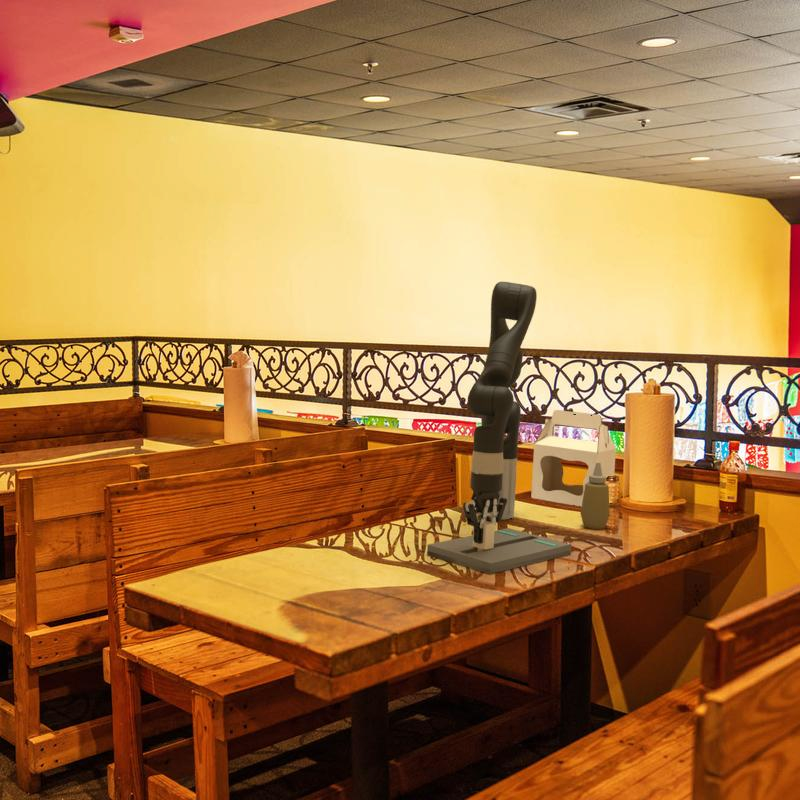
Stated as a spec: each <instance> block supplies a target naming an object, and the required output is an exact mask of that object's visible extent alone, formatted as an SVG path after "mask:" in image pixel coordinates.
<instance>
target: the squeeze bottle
mask: <svg viewBox="0 0 800 800" xmlns="http://www.w3.org/2000/svg"><path fill="white" fill-rule="evenodd" d="M605 483H606V476H602V470H601V463H596V466H595V469H594V473H593V475H589V482H588V483H586V484H585V489H584V495H583V501H582V507H580V508H581V509H580V517H581V521H582V525H583V527H585V528H588V529H592V530H602V529H605V528H606V526H607V524H608V522H609V519H610V516H611V515H610V510H611V509H610V504H609V486H608V485H607V484H605Z"/></svg>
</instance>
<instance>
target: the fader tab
mask: <svg viewBox="0 0 800 800" xmlns="http://www.w3.org/2000/svg"><path fill="white" fill-rule="evenodd" d="M478 522H479V520H478ZM495 529H496V525H495V523H493V522H489V521H485V519H484V525H483V543H481V544H478V543H475V542H474V539H473V546H474V547H477V548H478V551H482V550H486V549H491V548H494V531H496V530H495ZM472 531H473V533H472V535H473V537H474V527H473V530H472Z"/></svg>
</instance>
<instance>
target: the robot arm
mask: <svg viewBox="0 0 800 800" xmlns="http://www.w3.org/2000/svg"><path fill="white" fill-rule="evenodd" d="M537 296H538V295H537V290H536V288H535V287H534V286H532V285H528V284H522V283H516V282H511V281H510V282H509V281H499V282H496V284H495V285H494V287H493V289H492V294H491V300H490V337H489V345H488V352H487V355H486V358H485V363H484V367H483V370H482V371H481V373H480V375H479V376H478V378H477V379H476V381H475V382H474V383H473V385H472V386H471V389H470V390H469V393H468V396H467V400H466V401H467V407H468V410H469V411H470V412H471V413H472V414H474V415H478V416H481V425H477V426H476V427H475V428H474V431H473V445H472V446H473V448H472V450H473V451H472V456H471V462H470V463H471V464H470V465H471V466H470V482H469V483H470V484H469V485H470V486H469V488H470V489H471V490H472V496H471V497H470V499H471V500H469V501H468V502H463V503H462V508H463V512H464V515H465V519H466V523H467V525H468V526H471V527H473V528H474V537H473V539H474V542H475V543H478V544H481V543H483V525H484V520H485V521H489V522H493V523H495V526H496V525H497V523H500V522H501V521H502V520H511V519H510V518H512V519H514V518H515V506H516V505H515V503H516V484H517V469H518V468H517V465H518V450H519V447H518V446H519V445H518V444H519V433H520V432H519V431H520V425H521V417H522V416H521V415H522V414H521V405H520V403H519V402H518V401H514V400H515V399H514V398H515V397H514V395H513V392H512V391H511V389H510V388H511V387H512V385H514V384H515V383H516V382H517V380H518V379H519V377H520V376H521V372H522V366H523V365H522V364H523V357H524V355H523V350H522V348H521V346H522V344H523V343H524V340H525V338H526V335H527V332H528V330H529V327H530V324H531V322H532V319H533V317H534V313H535V310H536V305H537ZM506 320H508V321H509V320H510V321H516V322H515V323H514V324H513V326H512V327H511V328H509V326H508V323H507V321H506ZM505 434H507V435H506V437H505ZM513 517H514V518H513ZM478 521H479V522H478Z"/></svg>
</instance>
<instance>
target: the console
mask: <svg viewBox="0 0 800 800" xmlns="http://www.w3.org/2000/svg"><path fill="white" fill-rule="evenodd" d="M426 551H427V552H426V556H429V557H433V558H436V559H440V560H442V561H446V562H450V563H452V564H453V563H454V564H456V565H459V566H462V567H466V568H470V569H472V570H476V571H478V572H482V573H486V574H489V575H493V574H497V573H501V572H505V571H508V570H509V571H510V570H513V569H517V568H521V567H524V566H530V565H533V564H537V563H541V562H545V561H548V560H549V561H550V560H553V559H557V558H561V557H564V556H569V555H571V554H572V553H571V552H572V544H571V543H568V542H564V541H559V540H557V539H552V538H549V537H545V536H540V535H537V534H532V533H529V532H526V531H521V530H517V529H513V528H509V527H507V528H502V529H497V530H495V531H494V548H491V549H486V550H482V551H478V548H477V547H474V546H473V534H472V535H469V536H463V537H459V538H454V539H448V540H444V541H439V542H433V543H429V544H427V550H426Z"/></svg>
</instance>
